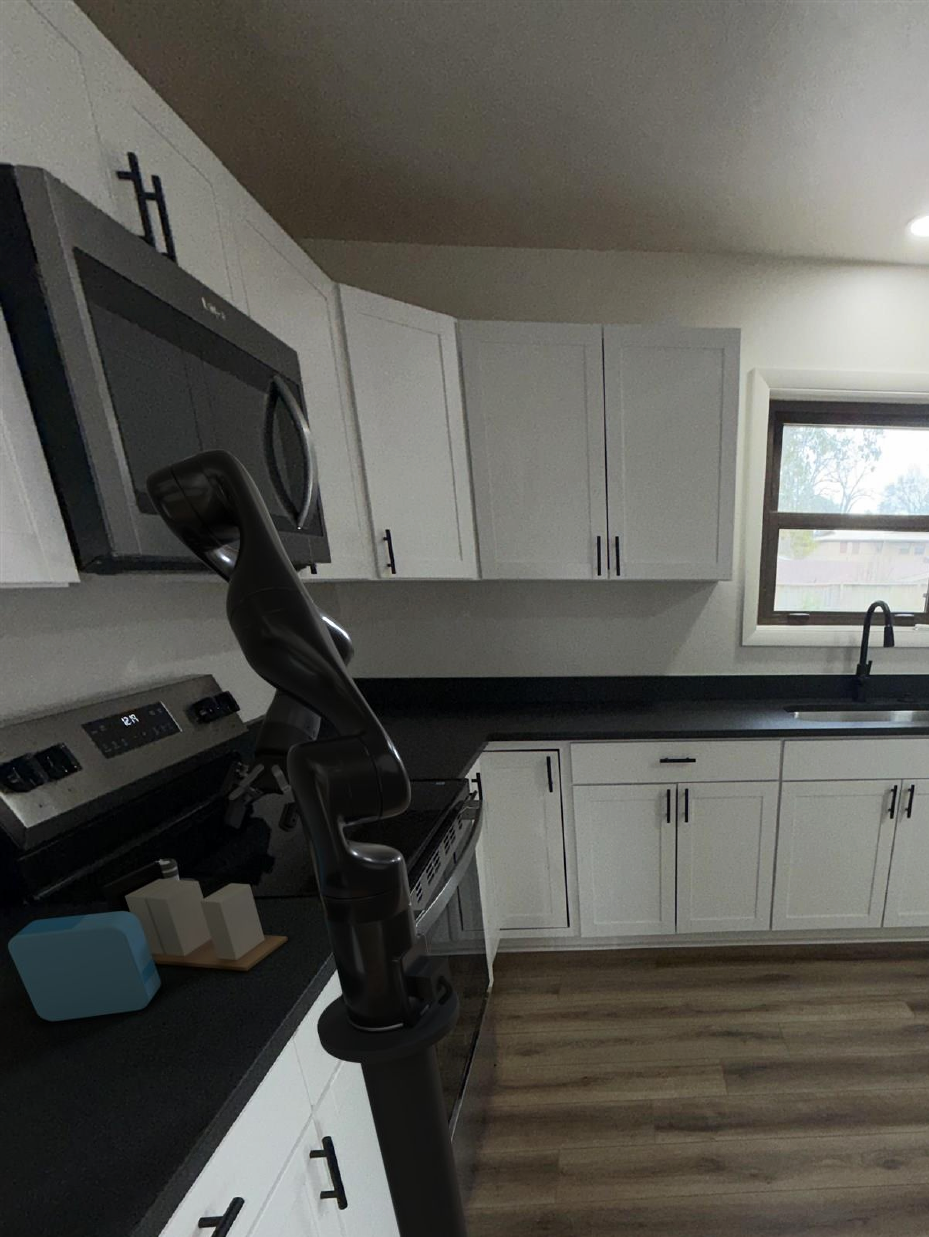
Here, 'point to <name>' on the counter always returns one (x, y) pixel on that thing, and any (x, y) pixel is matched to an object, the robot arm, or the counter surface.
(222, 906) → the beige block
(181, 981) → the counter surface
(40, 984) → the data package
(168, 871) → the coffee cup
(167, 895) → the rack
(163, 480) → the robot arm
